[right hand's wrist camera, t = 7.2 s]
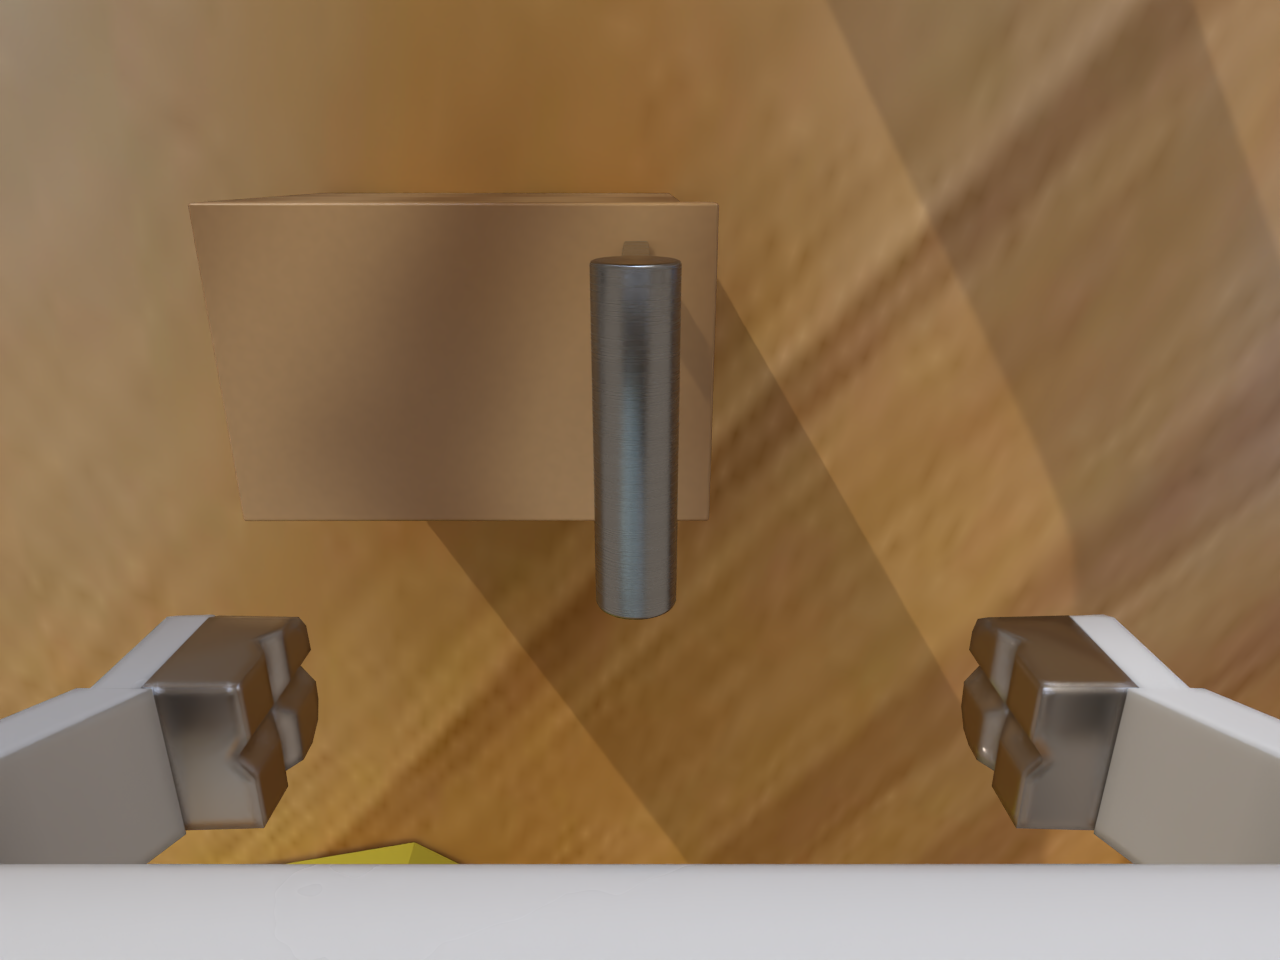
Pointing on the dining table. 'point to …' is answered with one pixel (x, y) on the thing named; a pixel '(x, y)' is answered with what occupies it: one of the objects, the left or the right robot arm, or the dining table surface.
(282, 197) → the chest
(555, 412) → the lid
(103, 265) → the dining table surface
